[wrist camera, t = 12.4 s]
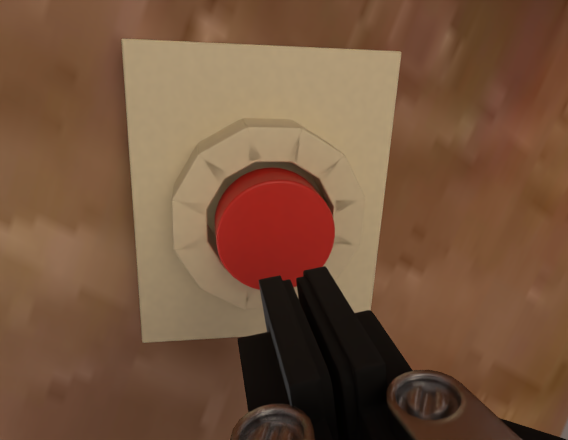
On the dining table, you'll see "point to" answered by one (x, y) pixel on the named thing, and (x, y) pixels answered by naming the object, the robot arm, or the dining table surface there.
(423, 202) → the dining table surface
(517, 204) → the dining table surface
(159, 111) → the switch box
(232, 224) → the power button
